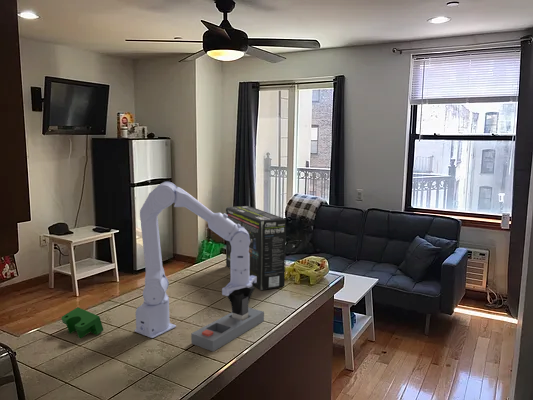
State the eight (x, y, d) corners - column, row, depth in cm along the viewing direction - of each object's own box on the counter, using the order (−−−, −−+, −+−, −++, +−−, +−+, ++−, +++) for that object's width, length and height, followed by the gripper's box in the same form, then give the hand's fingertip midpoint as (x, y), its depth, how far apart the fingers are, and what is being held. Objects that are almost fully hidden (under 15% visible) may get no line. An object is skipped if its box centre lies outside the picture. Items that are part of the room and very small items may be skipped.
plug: (242, 325, 132) (242, 299, 131) (231, 321, 134) (231, 296, 133) (248, 321, 135) (248, 296, 133) (238, 318, 137) (237, 293, 136)
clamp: (72, 345, 131) (57, 318, 130) (89, 333, 135) (75, 307, 135) (89, 342, 123) (73, 314, 122) (107, 330, 127) (92, 302, 127)
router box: (286, 287, 169) (287, 218, 165) (261, 291, 164) (261, 221, 159) (247, 262, 200) (247, 204, 196) (224, 265, 195) (224, 206, 191)
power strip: (213, 351, 119) (212, 339, 118) (191, 343, 123) (191, 331, 122) (264, 320, 138) (264, 309, 138) (243, 314, 143) (243, 304, 142)
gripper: (235, 277, 124) (235, 322, 126) (264, 264, 136) (264, 306, 138) (216, 272, 128) (216, 316, 130) (246, 260, 139) (246, 301, 142)
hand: (240, 311), depth 134 cm, fingers closed on plug, 3 cm apart
